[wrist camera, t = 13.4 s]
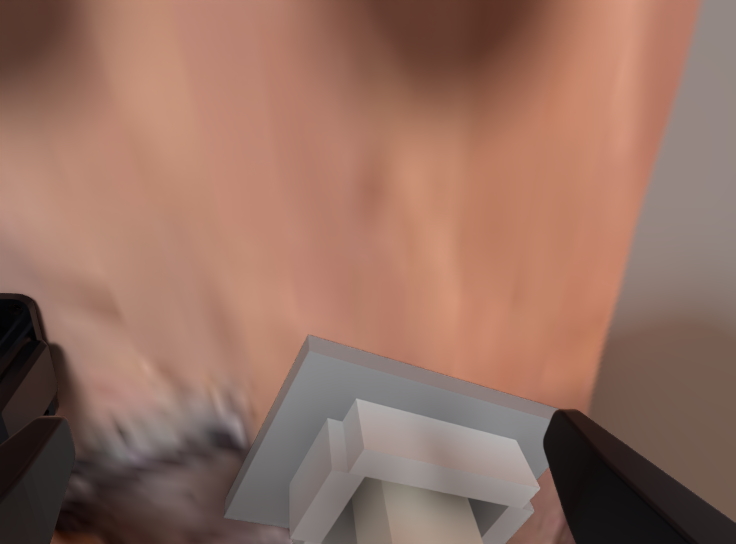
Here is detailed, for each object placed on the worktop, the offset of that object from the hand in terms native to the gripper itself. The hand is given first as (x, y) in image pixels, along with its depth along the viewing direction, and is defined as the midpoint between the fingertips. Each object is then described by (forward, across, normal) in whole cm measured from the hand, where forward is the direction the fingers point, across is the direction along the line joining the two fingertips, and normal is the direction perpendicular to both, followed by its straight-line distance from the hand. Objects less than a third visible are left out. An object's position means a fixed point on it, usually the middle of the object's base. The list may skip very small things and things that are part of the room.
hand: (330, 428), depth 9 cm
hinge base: (+12, -6, +15) cm, 20 cm away
